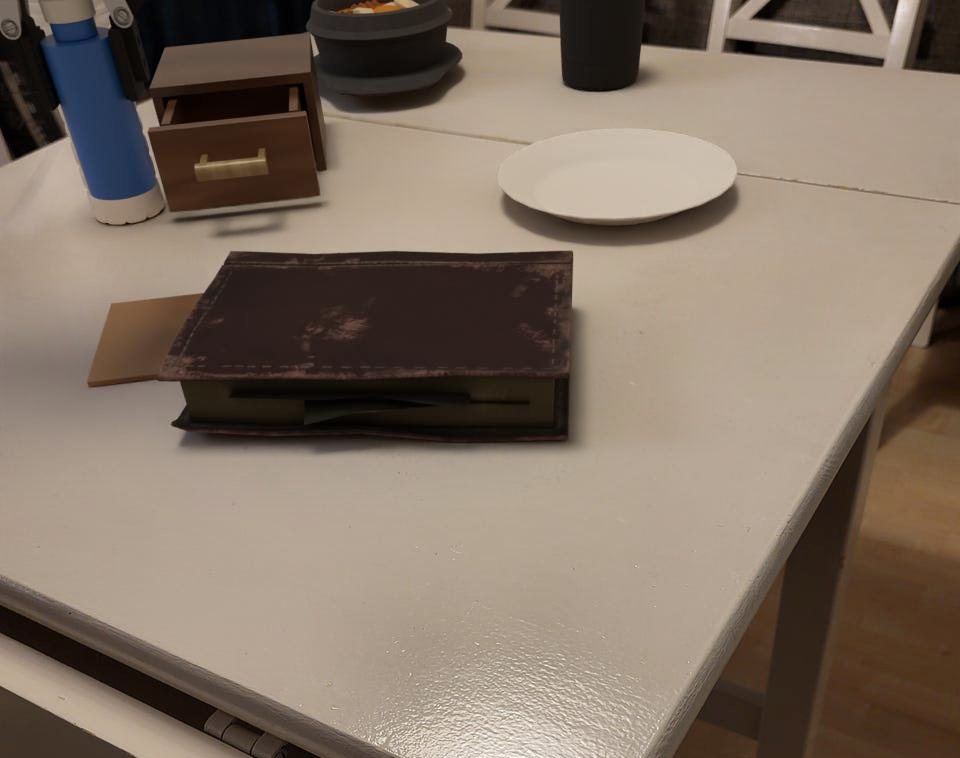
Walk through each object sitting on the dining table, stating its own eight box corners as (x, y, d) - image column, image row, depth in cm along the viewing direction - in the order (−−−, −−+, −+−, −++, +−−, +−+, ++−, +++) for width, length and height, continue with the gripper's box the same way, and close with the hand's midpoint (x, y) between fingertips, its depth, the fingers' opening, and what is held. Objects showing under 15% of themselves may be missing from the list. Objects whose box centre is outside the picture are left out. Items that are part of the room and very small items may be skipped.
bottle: (85, 204, 63) (17, 7, 55) (95, 179, 66) (33, -11, 59) (153, 196, 63) (95, -1, 56) (160, 172, 67) (106, -18, 59)
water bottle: (167, 194, 93) (77, -129, 76) (163, 220, 89) (65, -117, 71) (75, 205, 93) (-37, -118, 75) (65, 233, 88) (-57, -105, 71)
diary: (245, 305, 75) (231, 242, 71) (571, 306, 72) (573, 240, 69) (171, 446, 61) (149, 376, 58) (567, 452, 59) (569, 379, 56)
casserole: (472, 104, 107) (467, 17, 101) (304, 119, 107) (289, 33, 101) (456, 43, 125) (450, -34, 119) (312, 56, 125) (300, -20, 119)
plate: (771, 173, 88) (775, 147, 87) (667, 265, 76) (669, 237, 75) (573, 140, 97) (573, 116, 96) (452, 217, 85) (450, 191, 84)
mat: (88, 387, 68) (86, 382, 68) (112, 308, 77) (111, 303, 76) (231, 370, 69) (230, 365, 68) (239, 293, 77) (238, 288, 77)
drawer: (320, 214, 85) (306, 131, 80) (165, 231, 85) (141, 148, 80) (318, 148, 97) (306, 72, 93) (182, 163, 97) (162, 87, 92)
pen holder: (645, 90, 107) (651, -15, 100) (560, 95, 108) (560, -10, 101) (637, 65, 114) (642, -35, 107) (557, 69, 114) (557, -30, 107)
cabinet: (326, 169, 96) (310, 71, 89) (175, 186, 95) (149, 88, 89) (324, 123, 105) (310, 32, 99) (187, 138, 105) (164, 47, 99)
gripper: (151, -310, 52) (233, 68, 64) (-174, -282, 51) (-25, 96, 63) (133, -310, 46) (227, 103, 59) (-230, -278, 45) (-56, 134, 58)
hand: (95, 96), depth 61 cm, fingers closed on bottle, 4 cm apart
